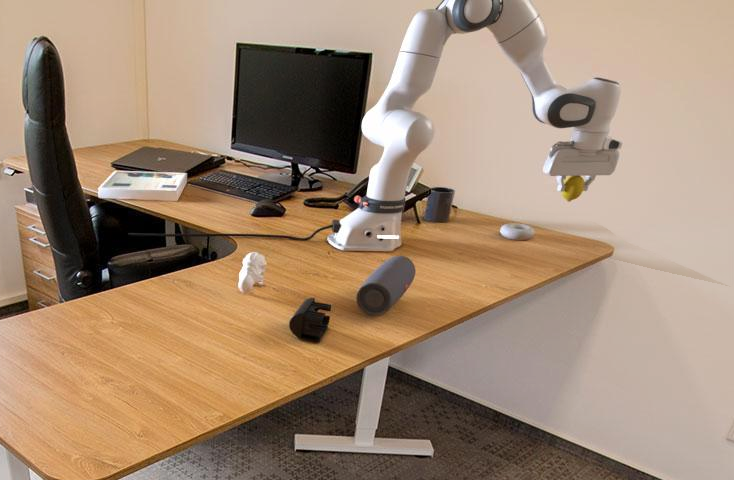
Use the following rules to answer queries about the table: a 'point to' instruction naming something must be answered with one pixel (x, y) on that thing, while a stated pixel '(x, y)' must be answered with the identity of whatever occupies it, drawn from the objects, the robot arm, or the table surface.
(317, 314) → the end cap
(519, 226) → the donut
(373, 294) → the bluetooth speaker
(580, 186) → the lemon
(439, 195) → the pen cup
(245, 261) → the white figurine
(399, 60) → the robot arm
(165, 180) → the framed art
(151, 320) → the table surface
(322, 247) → the table surface
